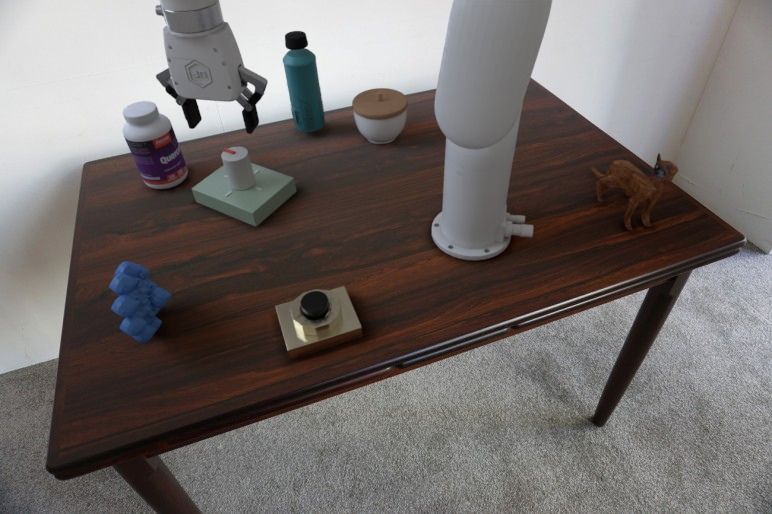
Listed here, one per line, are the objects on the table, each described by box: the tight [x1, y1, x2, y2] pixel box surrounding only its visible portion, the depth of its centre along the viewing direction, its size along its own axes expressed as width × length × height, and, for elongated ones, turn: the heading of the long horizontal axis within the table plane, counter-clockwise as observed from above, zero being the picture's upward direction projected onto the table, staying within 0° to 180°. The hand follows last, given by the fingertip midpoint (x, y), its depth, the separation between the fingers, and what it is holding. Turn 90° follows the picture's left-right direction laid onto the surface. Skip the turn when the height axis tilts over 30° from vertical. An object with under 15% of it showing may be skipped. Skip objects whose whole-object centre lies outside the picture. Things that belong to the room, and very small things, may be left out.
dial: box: [220, 146, 255, 190], centre depth 89 cm, size 4×4×6 cm
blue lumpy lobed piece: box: [108, 260, 172, 344], centre depth 68 cm, size 12×7×12 cm, turn 14°
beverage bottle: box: [282, 30, 326, 133], centre depth 101 cm, size 6×7×20 cm
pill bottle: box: [121, 100, 189, 190], centre depth 93 cm, size 8×8×14 cm
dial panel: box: [191, 162, 297, 228], centre depth 92 cm, size 14×11×3 cm
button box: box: [274, 285, 364, 361], centre depth 70 cm, size 10×8×4 cm
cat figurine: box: [590, 153, 679, 231], centre depth 83 cm, size 18×7×14 cm, turn 13°
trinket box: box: [351, 87, 409, 145], centre depth 103 cm, size 11×11×9 cm
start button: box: [301, 291, 330, 320], centre depth 69 cm, size 4×4×2 cm
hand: (224, 126), depth 83 cm, fingers open, 9 cm apart
